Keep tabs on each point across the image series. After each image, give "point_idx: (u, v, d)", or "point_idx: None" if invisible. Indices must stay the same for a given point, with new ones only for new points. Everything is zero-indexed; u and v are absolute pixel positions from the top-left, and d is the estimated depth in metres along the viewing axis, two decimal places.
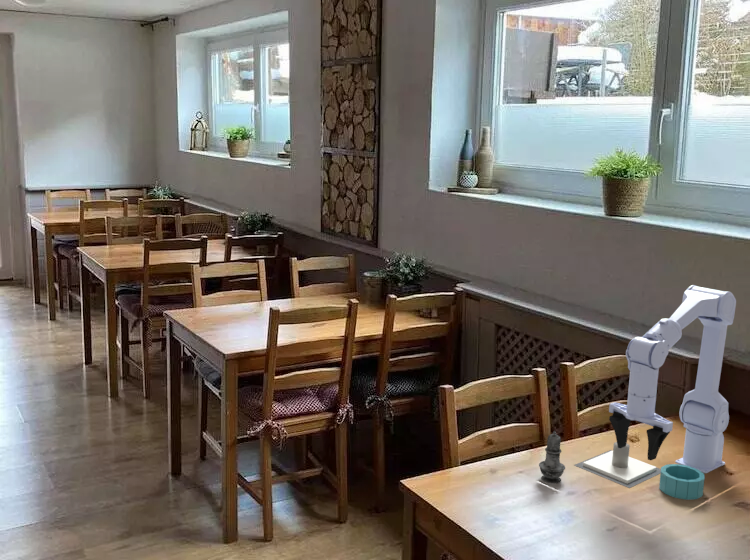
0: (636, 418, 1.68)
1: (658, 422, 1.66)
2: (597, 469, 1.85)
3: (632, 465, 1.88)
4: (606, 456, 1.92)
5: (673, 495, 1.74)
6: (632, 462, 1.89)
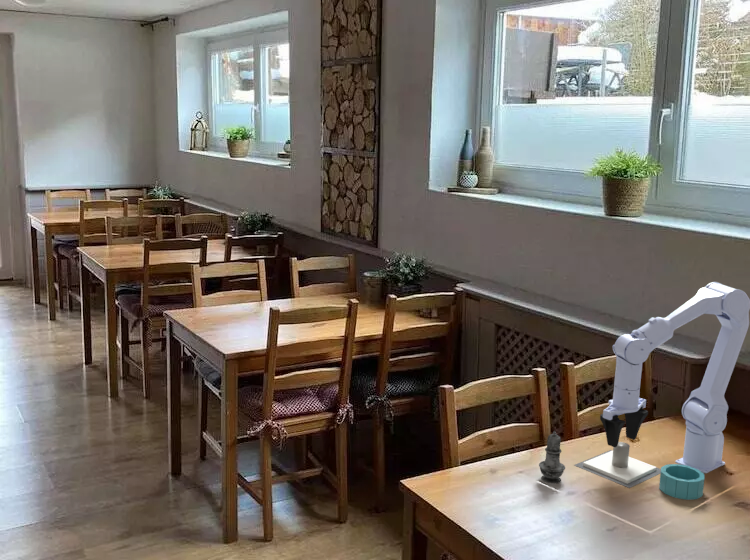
0: (611, 403, 1.86)
1: None
2: (597, 469, 1.85)
3: (632, 465, 1.88)
4: (606, 456, 1.92)
5: (673, 495, 1.74)
6: (632, 462, 1.89)
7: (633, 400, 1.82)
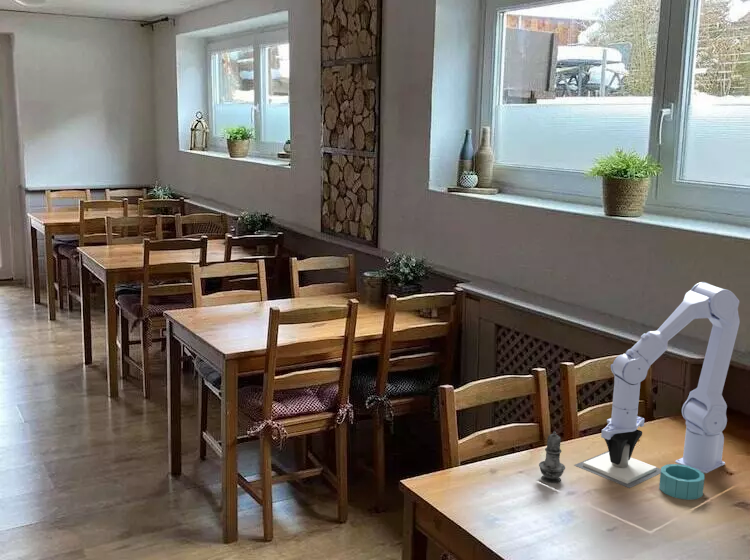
0: None
1: (605, 428, 1.83)
2: (597, 469, 1.85)
3: (632, 465, 1.88)
4: (606, 456, 1.92)
5: (673, 495, 1.74)
6: (632, 462, 1.89)
7: (631, 419, 1.83)
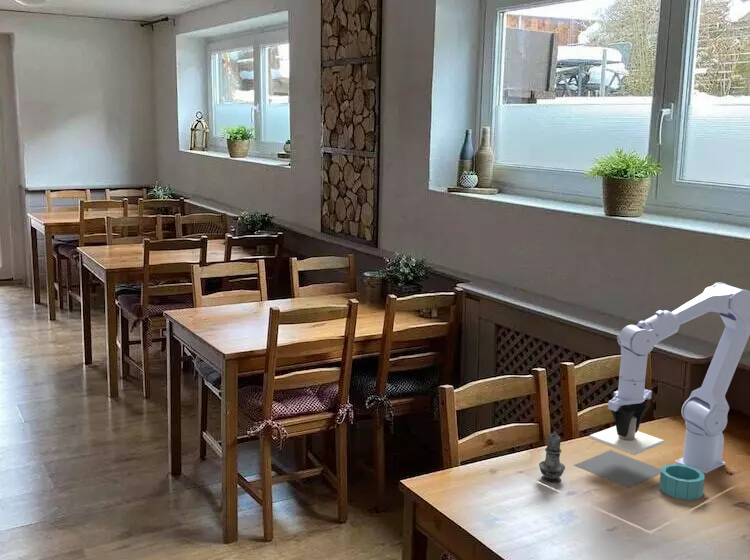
0: (616, 394, 1.85)
1: (612, 399, 1.81)
2: (604, 442, 1.83)
3: (639, 438, 1.86)
4: (613, 429, 1.90)
5: (673, 495, 1.74)
6: (639, 435, 1.87)
7: (638, 391, 1.81)
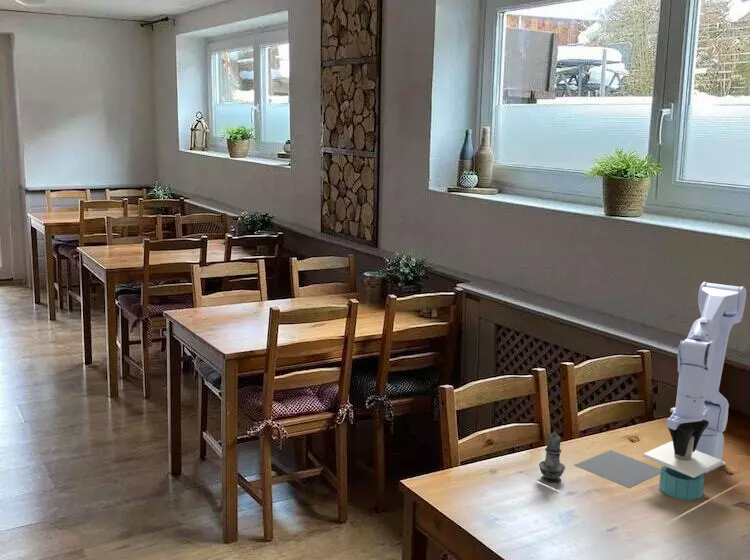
0: (673, 411, 1.75)
1: (670, 417, 1.71)
2: (660, 462, 1.74)
3: (696, 457, 1.76)
4: (666, 447, 1.80)
5: (673, 495, 1.74)
6: (695, 454, 1.78)
7: (698, 408, 1.71)
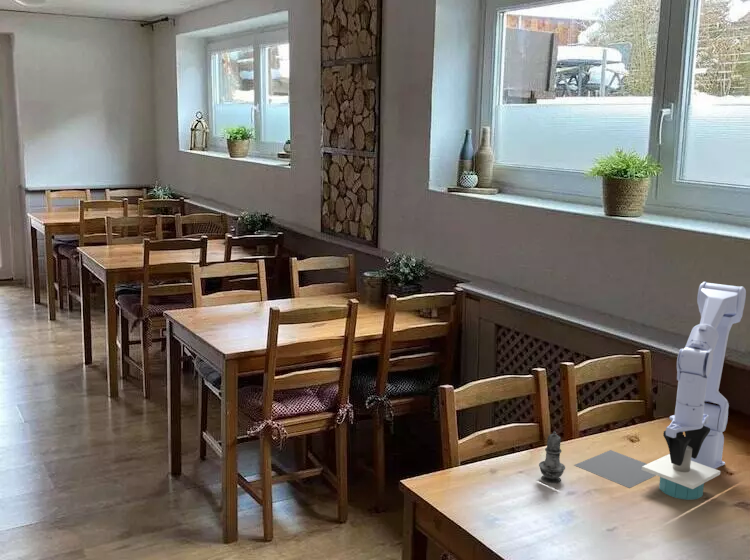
0: (672, 419, 1.76)
1: None
2: (659, 474, 1.74)
3: (694, 469, 1.77)
4: (665, 459, 1.81)
5: (673, 495, 1.74)
6: (694, 466, 1.78)
7: (697, 416, 1.71)
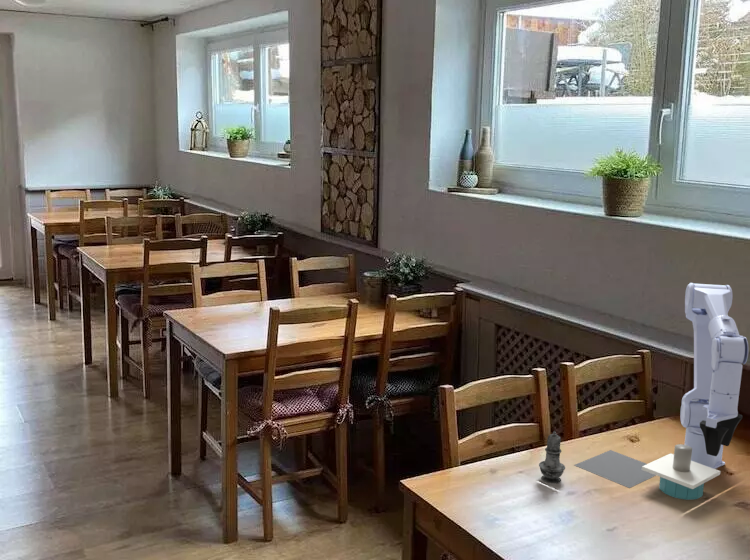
0: (706, 409, 1.74)
1: (708, 415, 1.70)
2: (659, 474, 1.74)
3: (694, 469, 1.77)
4: (665, 459, 1.81)
5: (673, 495, 1.74)
6: (694, 466, 1.78)
7: (734, 405, 1.70)
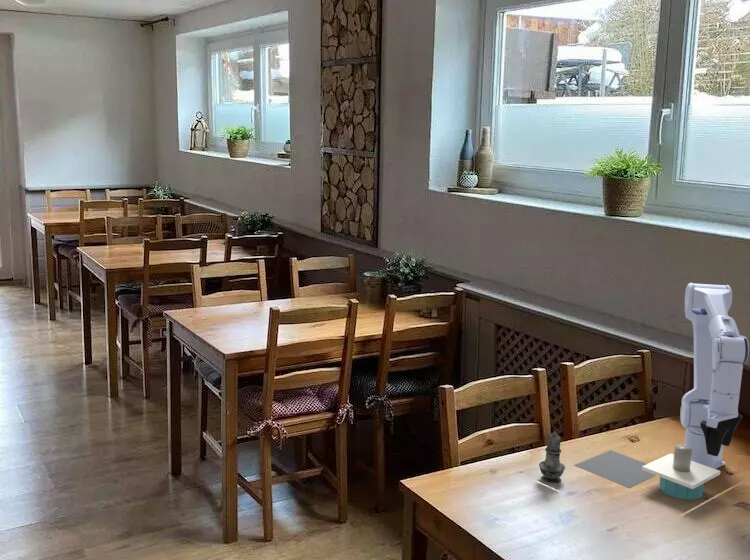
0: (707, 409, 1.74)
1: (708, 415, 1.70)
2: (659, 474, 1.74)
3: (694, 469, 1.77)
4: (665, 459, 1.81)
5: (673, 495, 1.74)
6: (694, 466, 1.78)
7: (734, 405, 1.70)
